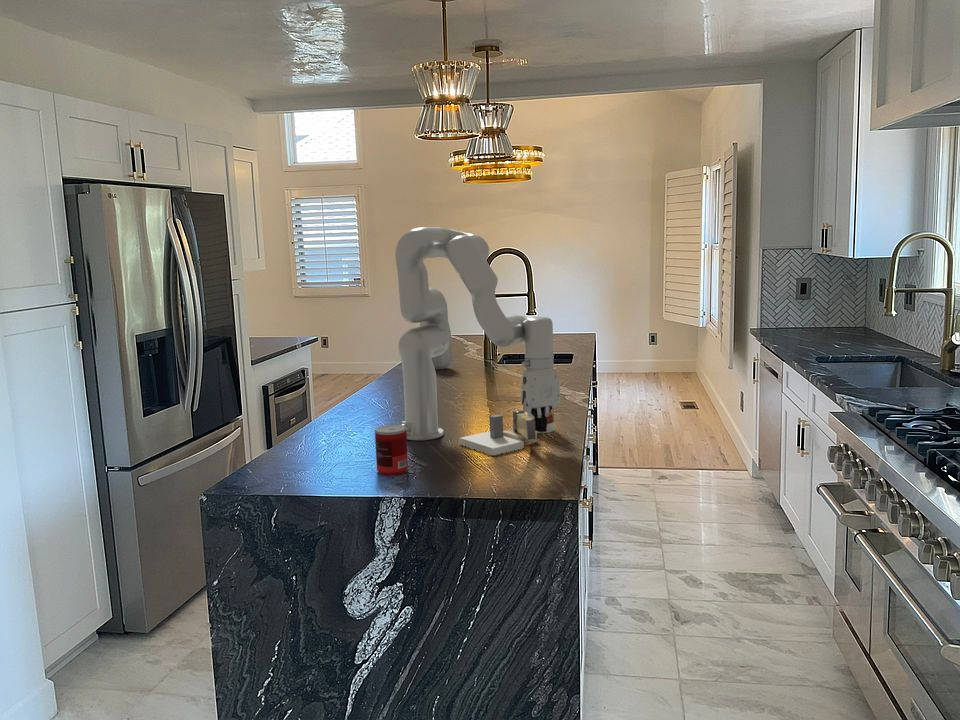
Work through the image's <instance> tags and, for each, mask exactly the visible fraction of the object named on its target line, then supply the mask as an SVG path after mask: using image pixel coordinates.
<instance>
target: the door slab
mask: <svg viewBox="0 0 960 720" xmlns="http://www.w3.org/2000/svg"><path fill="white" fill-rule="evenodd" d="M503 431H504V416H503V415H502V414H494V415H489V431H485V432H480V433H475V434H470V435H467V436H462V437H459V438H458V439H459V446H462V445H463V446H462V447H465V446H466V448H468V447H469V448H468V449H471V448H472V449H471V450H474V449H475V451H477V450H478V452H480V451H481V453H483V452H484V454H486V453H487V455H490V456H492V455H494V456H498V455H502V454H501V453H503V454H507V453H510V451H511V452H514V450H515V451H519V450H523V449H522V448H525V445H524V442H523V441H521V440H517V439H514V438H510V437H507V436H503ZM518 449H519V450H518ZM506 452H507V453H506ZM497 454H498V455H497Z"/></svg>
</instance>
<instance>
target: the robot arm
mask: <svg viewBox="0 0 960 720" xmlns="http://www.w3.org/2000/svg"><path fill="white" fill-rule="evenodd" d="M489 255H490V247H489V245H488V243H487V240H485V239H484V238H483V237H482V236H480V235H477V234H474V233H473V234H472V233H468V232H464V231H460V230H456V229H452V228H447V227H441V226H440V227H439V226H438V227H437V226H435V227H430V226H429V227H428V226H427V227H426V226H425V227H417V228H413V229H410V230H408V231H407V232H405V233H404V234H403V235H402V236H401V237H400V239H398V241H397V244H396V247H395V264H396V265H395V266H396V270H397V279H398V280H397V282H398V294H399V306H400V307H399V308H400V312H401V316H402V319H403V320H404V321H406V322H408V323H412V324H419V326H417V327H413V328H410V329H408V330H406V331H405V332H404V333H402V335H401V336H400V339H399V341H398V352H399V353H398V354H399V358H400V362H401V363H400V364H401V368H402V380H403V381H402V383H403V399H404V400H403V402H404V420H403V421H401V424H400V425H402V426H405V427H406V434H407V441H408V440H409V441H428V440H436V439H438V438H441V437H442V436H444V433H445V432H444V429H443V428H441V427H439V419H438V417H439V415H438V414H439V413H438V412H439V411H438V392H437V390H438V389H437V373H436V369H435V368H434V365H433V362H432V357H436V356H439V355H441V354H443V353H444V352H445V351H446V350H447V348H448V345H449V327H450V323H449V313H448V304H447V300H446V298H445V296H444V294H443V293H442V292H441V291H440V290H439V289H437V288H434V287H430V286H429V285H430V284H429V274H428V270H427V267H426V265H425V263H424V260H425V259H431V258H432V259H434V258H444V259H448V261H449V263H450V264H451V266H453V268H454V270H455V272H456V273H457V274H458V276H459V278H460V279H461V280H462V282H463V283H464V285H465V287H466V289H467V290H468V292H469V293H470V296H471V303H472V307H473V312H474V315H475V318H476V321H477V322H478V325H480V327H481V328H482V330H483V332H484V333H485V335H486V336H487V338H488V339H489V340H490V341H491V342H492V343H493V344H494V345H495V346H496V347H497V346H498V347H501V348H506V347H509V346H512V345H513V346H514V345H517V344H520V343H524V361H522V362H521V366H522V367H524V368H525V369H523V371H522V378H521V384H520V385H521V389H520V393H521V394H520V401H521V405H522V411H524V413H527V412H530V413H531V414H532V416H534V420H535V430H536V431H538V432H546V431H547V417H548V416H549V412H550V411H551V409H553V408H554V409H555V408H558V405H559V404H560V402H561V386H560V380H559V379H560V378H559V373H558V370H557V368H556V367H554V366H555V365H554V335H553V334H554V330H553V329H554V327H553V324H554V323H553V320H552V319H551V318H550V317H545V316H533V317H530V316H523V315H518V314H517V315H511V316H506V315H505V314H504V312H503V310H502V308H501V307H500V306H499V303H498V302H497V297H496V288H497V285H498V283H499V279H498V276H497V274H496V273H495V272H494V270H493V269H492V267H491V265H490V264H489V263H488V260H487V259H488V258H489ZM530 407H531V408H530Z"/></svg>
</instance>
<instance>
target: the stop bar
mask: <svg viewBox="0 0 960 720" xmlns="http://www.w3.org/2000/svg"><path fill="white" fill-rule="evenodd" d="M512 427H513V428H512V429H513V431H515V432H519V433H520V434H521V435H523V436H524V437H525V438H527V439H528V440H531V439H535V420H534V419H532V418H530V417H529V416H527V414H526V413H525V412H524V411H523V409H521V410H519V409H518V410H513V411H512Z"/></svg>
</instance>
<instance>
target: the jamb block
mask: <svg viewBox="0 0 960 720" xmlns="http://www.w3.org/2000/svg"><path fill="white" fill-rule="evenodd" d="M503 436H507V437H510V438H514V439H517V440H521V441H523V442H524V446H526V445H525V444H527V445H530V444H529V443H531V444H535V442H536V443H537V442H538V433H537V432H536V431H535V439H531V440H528V439H527V438H525V437H524V436H523V435H521V434H520V433H519V432H515V431H513V428H511V429H505V430H503Z"/></svg>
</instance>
